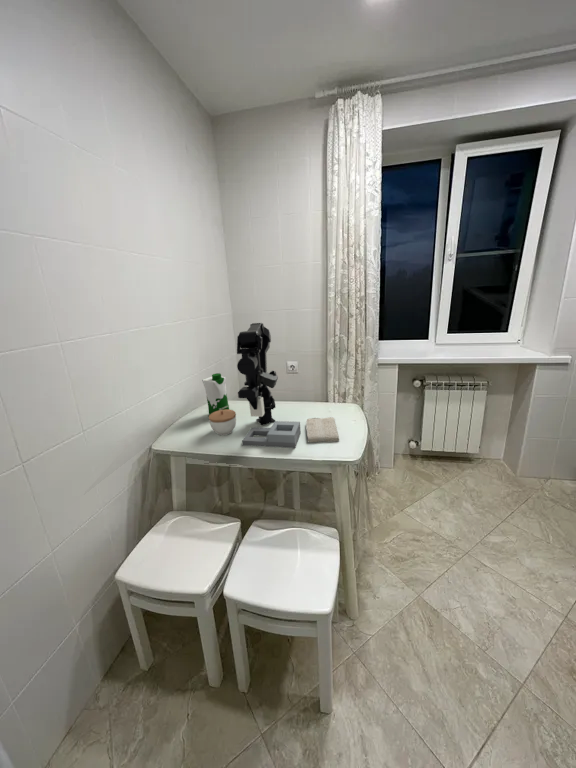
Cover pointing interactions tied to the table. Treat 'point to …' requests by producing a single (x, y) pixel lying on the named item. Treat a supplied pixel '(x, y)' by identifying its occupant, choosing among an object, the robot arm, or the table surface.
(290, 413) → the table surface
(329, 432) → the washcloth
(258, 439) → the socket panel
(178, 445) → the table surface
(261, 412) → the plug
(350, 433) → the table surface
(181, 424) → the table surface
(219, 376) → the milk carton
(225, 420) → the lidded jar
